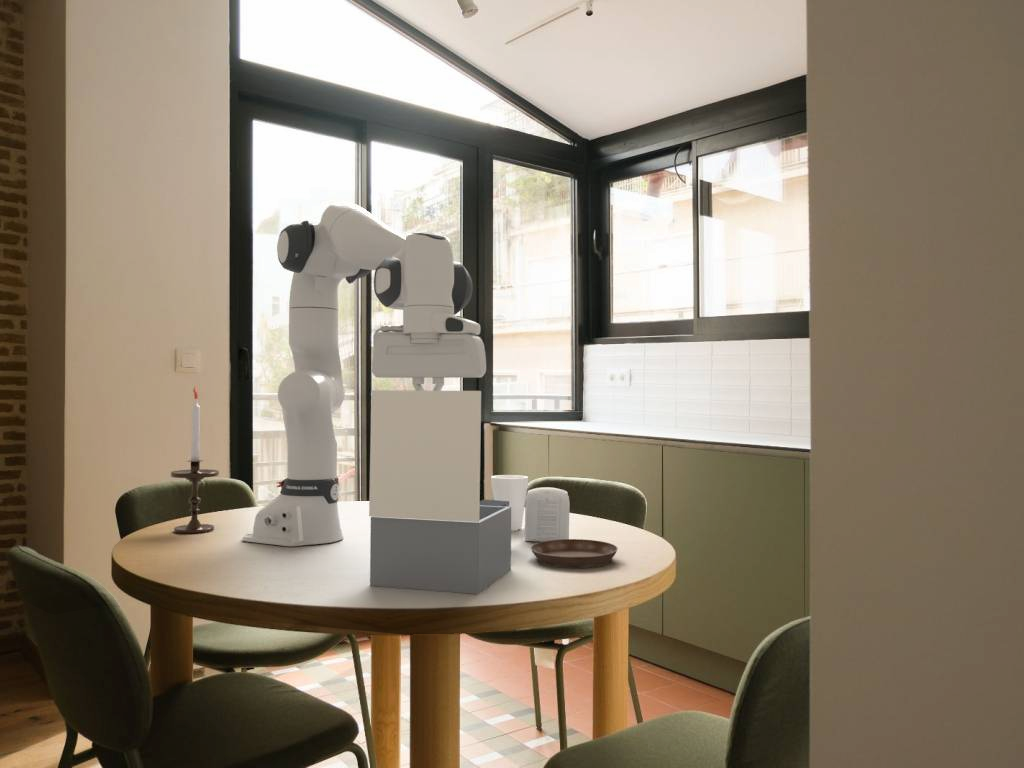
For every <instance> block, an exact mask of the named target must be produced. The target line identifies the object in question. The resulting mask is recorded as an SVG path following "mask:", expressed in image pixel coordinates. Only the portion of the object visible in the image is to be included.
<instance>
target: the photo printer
mask: <svg viewBox="0 0 1024 768" xmlns="http://www.w3.org/2000/svg"><path fill="white" fill-rule="evenodd" d="M570 508H571V507H570V496H569V495H568V491H566V490H565V489H560V488H556V487H549V486H548V487H547V486H545V487H543V486H542V487H536V488H532V489H529V490H527V492H526V499H525V506H524V512H525V513H524V541H525V542H536V543H539V542H544V541H550V540H561V539H570Z"/></svg>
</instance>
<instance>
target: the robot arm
mask: <svg viewBox="0 0 1024 768" xmlns="http://www.w3.org/2000/svg"><path fill="white" fill-rule="evenodd" d="M276 252H277V258H278V262H279V263H280V265H281V267H282V268H283V269H285V270H286V271H289V272H293V273H292V279H291V285H290V290H289V302H288V303H289V305H288V307H289V309H288V345H289V348H290V350H291V355H292V360H293V365H294V371H293V372H290V373H289V374H288V375H287V376H285V377H284V378H283V379H282V381H280V384H279V386H278V389H277V399H278V402H279V404H280V406H281V410H282V411H281V412H282V417H283V425H284V430H285V434H286V443H287V463H286V465H287V466H286V467H287V472H286V473H287V476H286V478H284V479H283V480H281V481H277V482H276V484H277V485H276V488H281V490H280V491H279V494H278V495H277V496H276V497H275V498H274V499H272V500H271V501H269V502H268V503H267V504H266V505H265V506H264V507H262V508H261V509H259V510H258V511H257V513H256V514H255V518H254V522H253V528H252V531H250V532H248V533H245V534H244V535H243V536H242V541H243V542H250V543H259V544H266V545H275V546H282V547H300V546H310V545H319V544H320V545H323V544H329V543H334V542H338V541H341V540H343V539H344V535H343V532H342V529H341V528H342V527H341V523H340V517H339V516H340V515H339V509H338V508H339V507H338V506H339V505H338V502H339V492H340V491H339V484H340V483H339V482H340V481H339V477H337V474H338V472H337V471H338V467H337V466H338V457H337V456H338V443H337V440H336V437H335V431H334V424H333V414H334V413H335V412H336V411H338V410H339V408H340V407H341V406H342V404H343V402H344V399H345V387H344V383H343V381H344V380H343V373H342V372H343V371H342V365H341V357H340V350H339V297H338V288H339V284H340V283H341V282H342V280H343V279H345V280H346V282H347V283H348V284H350V285H351V284H353V283H354V282H355V281H356V280H358V279H361V278H364V277H366V276H367V275H369V274H370V273H371V272H373V271H374V276H373V290H374V294H375V296H376V298H377V300H378V301H379V303H380V304H381V305H382V306H384V307H385V308H389V309H392V310H399V311H402V325H400V324H399V325H380V328H378V329H376V330H375V331H374V333H373V336H372V339H373V340H372V344H373V351H372V352H373V353H372V361H371V362H372V363H371V373H372V375H373V376H374V377H375V378H377V379H378V378H385V379H386V378H392V379H393V378H395V379H397V378H403V379H404V378H405V379H406V378H408V379H410V378H412V386H413V388H414V389H415V390H414V391H425V389H424V387H423V386H422V385H425V379H427V378H431V379H432V384H433V385H434V386H433V389H432V391H442V389H443V387H444V385H445V378H448V379H449V378H458V379H459V378H460V379H461V378H465V379H466V378H471V379H472V378H474V379H475V378H483V376H485V374H486V372H487V357H486V355H487V354H486V350H485V344H484V342H483V339H482V338H481V337H480V336H479V335H480V334H481V325H480V323H477V322H476V321H474V320H471V319H467V318H465V317H463V316H461V315H457V314H458V313H459V312H461V311H462V310H464V308H465V307H466V306H468V303H469V302H470V300H471V299H472V294H473V289H474V288H473V286H474V284H473V280H472V277H471V275H470V272H469V271H468V270H467V269H466V267H465V265H463V264H462V263H461V262H460V261H459V262H458V261H454V254H453V248H452V242H451V240H450V238H449V237H447V235H444V234H440V233H430V232H424V231H412V232H409V233H408V234H407V235H406V237H405V236H404V235H402V234H401V233H399V232H398V231H396V230H394V229H393V228H391V227H390V226H387V224H385V223H384V222H382V221H381V220H380V219H378V218H377V217H376V216H374V215H373V214H372V213H371V212H369V211H367V210H366V209H365V208H363V207H361V206H359V205H358V204H354V203H352V202H348V201H336V202H333V203H332V204H330V205H329V206H328V207H326V209H324V211H323V213H322V214H321V218H320V221H319V223H311V222H309V220H303V221H302V222H300V223H299V222H298V223H293V224H292V223H291V224H288V225H287V226H286V227H284V228H283V229H282V230H281V232H280V234H279V236H278V240H277V245H276Z"/></svg>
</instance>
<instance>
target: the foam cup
mask: <svg viewBox="0 0 1024 768" xmlns="http://www.w3.org/2000/svg"><path fill="white" fill-rule="evenodd" d="M490 487H491V491H492V492H491V493H492V500H498V501H509V507H511V530H515V531H519V530H518V529H520V530H522V527H523V520H524V515H525V513H524V512H525V499H526V496H527V492H528V487H529V476H526V475H520V474H499V475H498V474H497V475H491V477H490Z"/></svg>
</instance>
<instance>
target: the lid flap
mask: <svg viewBox="0 0 1024 768" xmlns="http://www.w3.org/2000/svg"><path fill="white" fill-rule="evenodd" d="M370 396H371V399H370V400H371V403H370V404H371V405H370V406H371V407H370V408H371V409H370V446H369V450H370V454H369V457H370V458H369V496H368V497H369V499H368V500H369V504H368V507H369V510H368V516H369V517H372V516H373V517H392V518H411V519H430V520H449V521H468V522H479V510H480V501H481V500H480V497H481V496H480V494H481V491H480V490H481V483H480V482H481V438H482V437H481V436H482V435H481V431H482V429H481V426H482V425H481V423H482V391H481V390H441V391H433V390H424V391H416V390H408V389H407V390H401V389H400V390H398V389H397V390H393V389H392V390H389V389H387V390H385V389H383V390H380V389H373V390H371V395H370Z"/></svg>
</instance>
